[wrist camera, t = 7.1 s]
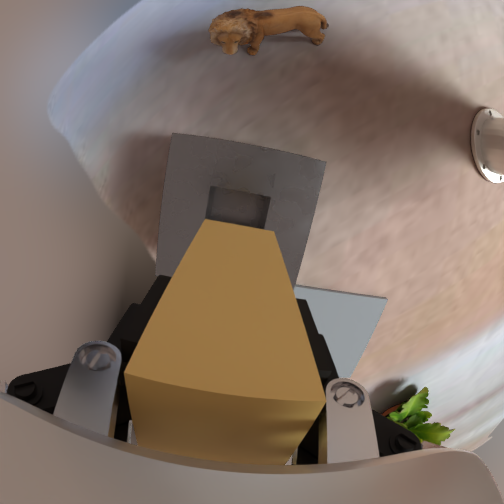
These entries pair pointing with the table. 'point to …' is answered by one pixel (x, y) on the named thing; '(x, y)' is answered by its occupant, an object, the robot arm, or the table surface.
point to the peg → (226, 355)
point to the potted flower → (418, 419)
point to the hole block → (236, 195)
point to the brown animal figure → (263, 26)
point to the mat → (343, 322)
